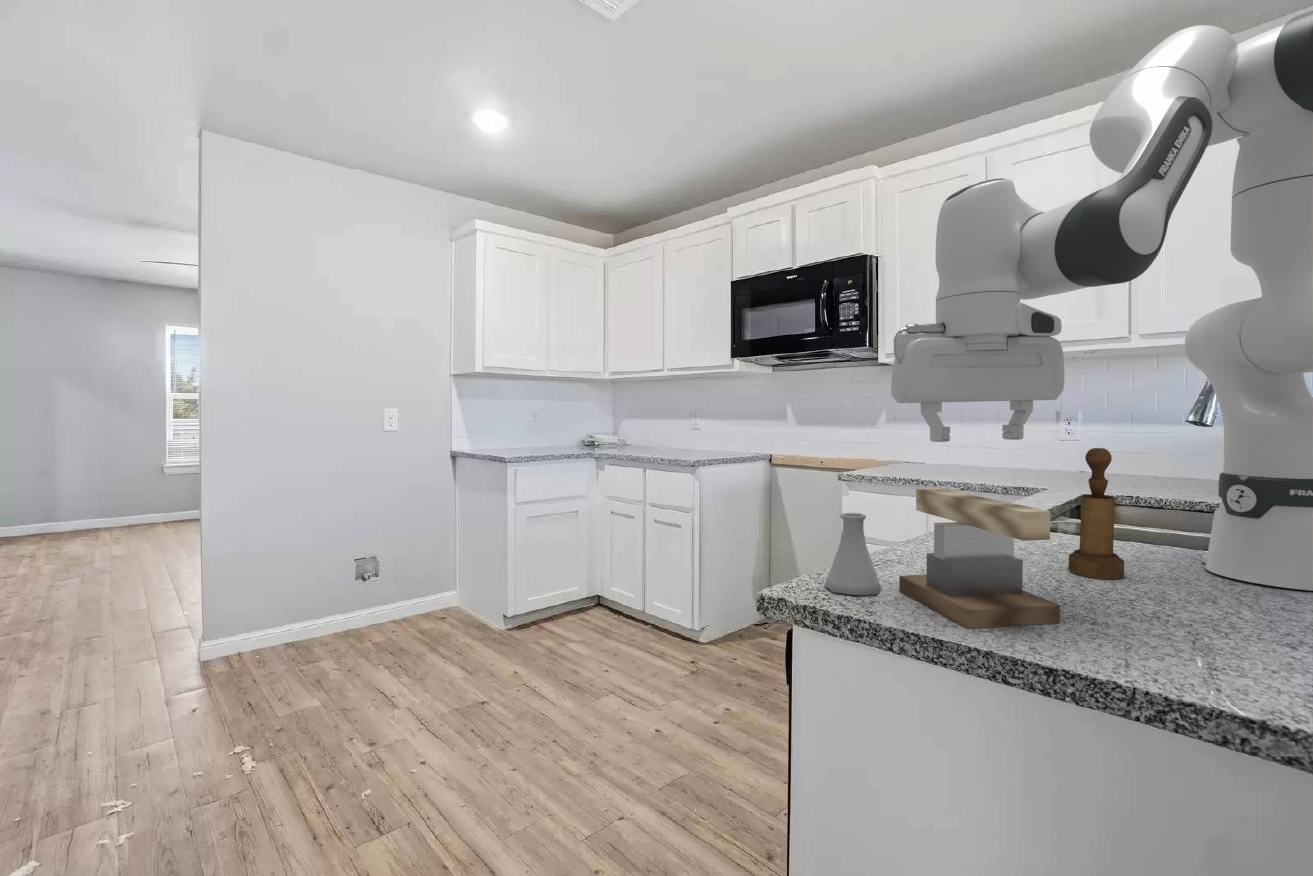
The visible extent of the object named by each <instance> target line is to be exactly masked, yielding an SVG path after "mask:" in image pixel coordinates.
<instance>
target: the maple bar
mask: <svg viewBox="0 0 1313 876" xmlns="http://www.w3.org/2000/svg"><path fill="white" fill-rule="evenodd" d="M915 491H916V493H915V498H916V499H915V504H916V505H915V511H916V512H917V511H918V512H922V513H925V514H928V515H932V516H935V517H938V518H943V519H946V520H950V521H952V522H959V523H963V524H966V525H970V526H973V527H977V528H980V529H984V530H987V531H991V532H994V533H998V534H1001V535H1005V536H1008V537H1012V538H1014V540H1019V541H1022V542H1025V541H1026V542H1027V541H1028V542H1030V541H1032V542H1033V541H1050V539H1051V511H1050V510H1047V509H1042V508H1036V507H1033V506H1032V507H1031V506H1026V505H1024V504H1023V505H1022V504H1017V503H1012V502H1009V501H1003V500H1000V499H999V500H997V499H993V498H988V497H984V496H978V495H973V494H969V493H964V492H959V491H954V490H949V489H944V488H940V487H917V488H916V490H915Z"/></svg>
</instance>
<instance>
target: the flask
mask: <svg viewBox="0 0 1313 876" xmlns="http://www.w3.org/2000/svg"><path fill="white" fill-rule="evenodd" d="M866 517H867V515H866V514H864V513H862V512H842V513H840V519H842V529H841V531H842V532H841V534H840V535H841V537H840V541H839V545H838V548H837V551H836V554H835V556H834V559H833V562H832V565H831V567H830V570H829V572H828V575H827V577H826V580H825V583H824V587H825V588H827V589H828V590H829V591H831V592H833V593H837V594H844V595H845V594H846V595H851V596H864V595H865V596H866V595H868V596H869V595H870V596H871V595H878V594H879V593H880V591H881V590H882V587H881V586H882V585H881V584H880V580H879V577H878V575H877V572H876V570H875V566H874V564H873V561H872V558H871V555H870V552H869V549H868V546H867V542H866V538H865V530H864V529H865V528H864V520H865V519H866Z"/></svg>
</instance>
